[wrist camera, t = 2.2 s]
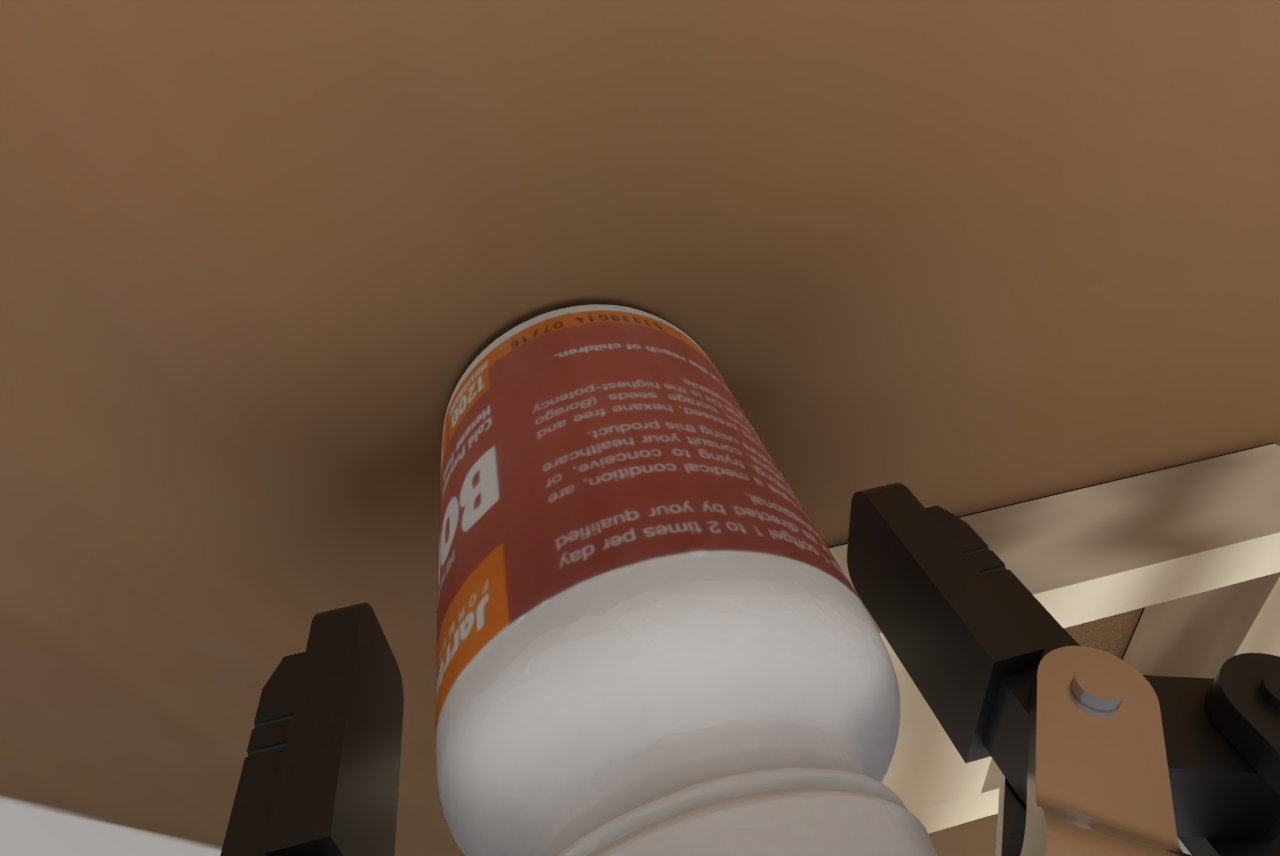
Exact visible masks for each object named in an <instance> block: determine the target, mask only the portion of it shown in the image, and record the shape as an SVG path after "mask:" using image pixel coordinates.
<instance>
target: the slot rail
mask: <svg viewBox="0 0 1280 856" xmlns="http://www.w3.org/2000/svg"><path fill="white" fill-rule="evenodd" d="M960 519H962V520H963V521H965V522H967V523H968V524H969V525H970V526H971V527H972V529H973V530H974V531H975V532H976V533H977V534H978V535H979V536H980V537H981V538H982V540H983V541H984V542H985V543H986V544H987V545H988V549H989V550H990V551H991V550H992V551H993V552H994V553H995V554H996V555H997V556H998V557H999V558H1000V559H1001V560H1002V562H1003V563H1004V564H1005V567H1006V569H1007V570H1009V569H1010V570H1011V571H1012V572H1013V574H1014V575H1015V576H1016V577H1017V578H1018V579H1019V580H1020V581H1021V582H1022V583H1023V585H1024V586H1025V587H1026V588H1027V589H1028V590H1029V591H1030V592H1031V593H1032V594H1033V596H1034V597H1035V598H1036V599H1037V600H1038V601H1039V602H1040V603H1041V604H1042V605H1043V606H1044V608H1045V609H1046V610H1047V611H1048V612H1049V613H1050V614H1051V615H1052V616H1053V617H1054V619H1055V620H1056V621H1057V622H1058V623H1059V624H1060V625H1061V626H1062V627H1063V628H1067V627H1070V626H1074V625H1078V624H1082V623H1086V622H1090V621H1094V620H1097V619H1101V618H1105V617H1109V616H1113V615H1117V614H1121V613H1124V612H1128V611H1132V610H1136V609H1140V608H1144V607H1145V609H1144V612H1143V614H1142V616H1141V618H1140V621H1139V623H1138V625H1137V628H1136V630H1135V632H1134V635H1133V637H1132V639H1131V642H1130V644H1129V646H1128V648H1127V651H1126V653H1125V655H1124V658H1123V660H1124V661H1125V662H1127V663H1128V664H1130V665H1131V666H1133V667H1134V668H1135V669H1136V670H1137V671H1139V672H1140V673H1141V674H1142V675H1151V676H1169V677H1192V678H1214V679H1215V677H1216V675H1217V674H1218V672H1219V670H1220V668H1221V667H1222V665H1223V664H1224V663H1225V662H1226V660H1228V659H1229V658H1231V657H1233V656H1236V655H1239V654H1244V653H1264V654H1271V655H1275V656H1279V657H1280V446H1278V445H1276V444H1271V445H1266V446H1262V447H1258V448H1254V449H1249V450H1245V451H1241V452H1237V453H1232V454H1228V455H1224V456H1220V457H1215V458H1211V459H1207V460H1203V461H1198V462H1194V463H1190V464H1186V465H1181V466H1177V467H1173V468H1169V469H1164V470H1160V471H1156V472H1152V473H1147V474H1143V475H1139V476H1135V477H1130V478H1126V479H1122V480H1118V481H1113V482H1109V483H1105V484H1101V485H1096V486H1092V487H1088V488H1084V489H1079V490H1075V491H1071V492H1067V493H1062V494H1058V495H1054V496H1050V497H1045V498H1041V499H1037V500H1033V501H1028V502H1024V503H1020V504H1015V505H1011V506H1007V507H1003V508H998V509H994V510H990V511H986V512H981V513H977V514H973V515H969V516H964V517H960ZM847 548H848V544H845V545H841V546H837V547H833V548H828V549H829V550H830V552H831V553H832V555H833V557H834V558H835V560H836V561H837V563H838V565H839V566H840V568H841V569H842V571H843V573H844V574H845V576H846V577H847V579H848V580H849V582H850V583H851V585H852V587H853V588H854V586H853V584H852V581H851V578H850V575H849V571H848V566H847ZM854 590H855V589H854ZM855 592H856V591H855ZM856 593H857V592H856ZM857 595H858V594H857ZM859 598H860V597H859ZM860 600H861V599H860ZM861 601H862V600H861ZM862 603H863V602H862ZM863 605H864V604H863ZM864 606H865V605H864ZM865 608H866V607H865ZM866 610H867V608H866ZM867 612H868V614H869V616H870V618H871V620H872V622H873V623H874V625H875V627H876V629H877V630H878V632H879V634H880V636H881V638H882V640H883V642H884V644H885V646H886V648H887V650H888V653H889V655H890V658H891V660H892V663H893V666H894V669H895V673H896V676H897V681H898V686H899V692H900V725H899V734H898V739H897V743H896V747H895V751H894V754H893V758H892V761H891V763H890V766H889V768H888V771H887V773H886V775H885V777H884V779H883V781H882V784H884V785H885V786H887V787H888V788H890V789H891V790H892V791H893V792H894V793H895V794H896V795H897V796H898V797H899V798H900V799H901V801H902V802H903V804H904V805H905V807H906V809H907V811H909V812H911V813H912V814H914V815H915V816H916V817H917V818H918V819H919V820H920V822H921V823H922V824H923V825H924V827H925V828H926V830H927V832H928V833H932V832H935V831H939V830H942V829H945V828H949V827H952V826H956V825H959V824H963V823H966V822H970V821H973V820H976V819H980V818H983V817H987V816H990V815H994V814H997V813H998V803H999V785H1000V779H1001V775H1002V772H1001V770H1000V769H999V767H998V766H997V764H996V763H995V761H994V760H993V758H992V757H991V756H990V757H987V758H983V759H980V760H976V761H973V762H969V763H965V762H964V760H963V759H962V757H961V755H960V754H959V752H958V751H957V749H956V748H955V746H954V745H953V743H952V741H951V740H950V738H949V737H948V735H947V734H946V732H945V730H944V729H943V727H942V726H941V724H940V723H939V721H938V719H937V718H936V716H935V715H934V713H933V712H932V710H931V709H930V707H929V705H928V704H927V702H926V701H925V699H924V698H923V696H922V694H921V693H920V691H919V690H918V688H917V687H916V685H915V683H914V682H913V680H912V679H911V677H910V676H909V674H908V672H907V671H906V669H905V668H904V666H903V665H902V663H901V662H900V660H899V658H898V657H897V655H896V654H895V652H894V651H893V649H892V647H891V646H890V644H889V643H888V641H887V640H886V638H885V636H884V635H883V633H882V632H881V630H880V629H879V627H878V626H877V624H876V622H875V621H874V619H873V618H872V616H871V615H870V613H869V611H868V610H867Z"/></svg>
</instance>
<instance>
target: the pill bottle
mask: <svg viewBox="0 0 1280 856" xmlns="http://www.w3.org/2000/svg"><path fill="white" fill-rule="evenodd" d="M440 491H441V509H440V540H439V593H438V611H437V613H438V622H437V683H436V738H435V748H436V758H437V784H438V790H439V797H440V803H441V806H442V810H443V813H444V816H445V819H446V822H447V824H448V827H449V829H450V831H451V833H452V835H453V837H454V840H455V842H456V844H457V845H458V847H459V848H460V850H461V851H462V852H463V854H464V855H465V856H937V854H936V852H935V849H934V847H933V845H932V842H931V840H930V837H929V835H928V832H927V830H926V828H925V827H924V825H923V824H922V823H921V822H920V820H919V819H918V818H917V817H916V816H915V815H914V814H912V813H911V812H909V811H907V809H906V807H905V805H904V804H903V802H902V801H901V799H900V798H899V797H898V796H897V795H896V794H895V793H894V792H893V791H892V790H891V789H890V788H888V787H887V786H885V785H884V784H882V781H883V779H884V777H885V775H886V773H887V771H888V768H889V766H890V763H891V761H892V758H893V754H894V751H895V747H896V743H897V739H898V734H899V725H900V692H899V686H898V681H897V676H896V673H895V669H894V666H893V663H892V660H891V658H890V655H889V653H888V650H887V648H886V646H885V644H884V642H883V640H882V638H881V636H880V634H879V632H878V630H877V629H876V627H875V625H874V623H873V622H872V620H871V618H870V616H869V614H868V612H867V610H866V608H865V606H864V605H863V603H862V601H861V600H860V598H859V596H858V595H857V593H856V592H855V590H854V588H853V587H852V585H851V583H850V582H849V580H848V579H847V577H846V576H845V574H844V573H843V571H842V569H841V568H840V566H839V565H838V563H837V561H836V560H835V558H834V557H833V555H832V553H831V552H830V550H829V549H828V547H827V545H826V544H825V542H824V540H823V539H822V537H821V536H820V534H819V532H818V531H817V529H816V528H815V526H814V524H813V523H812V521H811V520H810V518H809V517H808V515H807V513H806V512H805V510H804V509H803V507H802V505H801V504H800V502H799V501H798V499H797V498H796V496H795V495H794V493H793V491H792V490H791V488H790V487H789V485H788V483H787V482H786V480H785V479H784V477H783V475H782V474H781V472H780V471H779V469H778V467H777V466H776V464H775V462H774V461H773V459H772V457H771V456H770V454H769V453H768V451H767V449H766V448H765V446H764V445H763V443H762V441H761V440H760V438H759V437H758V435H757V433H756V432H755V430H754V429H753V427H752V425H751V424H750V422H749V421H748V419H747V417H746V416H745V414H744V412H743V411H742V409H741V407H740V406H739V404H738V403H737V401H736V399H735V398H734V396H733V394H732V393H731V391H730V389H729V388H728V386H727V384H726V383H725V381H724V379H723V378H722V376H721V375H720V373H719V371H718V370H717V368H716V367H715V365H714V364H713V363H712V362H711V360H710V359H709V358H708V356H707V355H706V354H705V352H704V351H703V350H702V349H701V348H700V347H699V346H698V345H697V344H696V343H695V341H694V340H692V339H691V338H690V337H689V336H688V335H687V334H685V333H684V332H683V331H681V330H680V329H678V328H677V327H676V326H674V325H672V324H670V323H669V322H667V321H665V320H663V319H661V318H659V317H657V316H654V315H652V314H649V313H647V312H644V311H641V310H637V309H634V308H630V307H624V306H617V305H601V304H594V305H581V306H573V307H567V308H563V309H558V310H554V311H550V312H548V313H545V314H542V315H539V316H537V317H534V318H532V319H530V320H528V321H526V322H523V323H521V324H519V325H517V326H516V327H514V328H512V329H511V330H509V331H508V332H506V333H504V334H503V335H502V336H500V337H499V338H497V339H496V340H495V341H493V342H492V343H491V344H490V345H489V346H488V347H487V348H485V349H484V350H483V351H482V352H481V353H480V354H479V355H478V356H477V357H476V358H475V360H474V361H473V362H472V363H471V365H470V366H469V367H468V368H467V370H466V371H465V373H464V374H463V375H462V377H461V379H460V381H459V382H458V384H457V386H456V388H455V390H454V392H453V394H452V396H451V399H450V402H449V404H448V407H447V412H446V416H445V421H444V427H443V437H442V450H441V488H440Z"/></svg>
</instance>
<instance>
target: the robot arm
mask: <svg viewBox="0 0 1280 856" xmlns="http://www.w3.org/2000/svg"><path fill="white" fill-rule="evenodd" d="M847 566H848V571H849V575H850V578H851V581H852V584H853V586H854V589H855V591H856V592H857V594H858V596H859V597H860V599H861V600H862V602H863V604H864V605H865V607H866V608H867V610H868V611H869V613H870V615H871V616H872V618H873V619H874V621H875V622H876V624H877V626H878V627H879V629H880V630H881V632H882V633H883V635H884V636H885V638H886V640H887V641H888V643H889V644H890V646H891V647H892V649H893V651H894V652H895V654H896V655H897V657H898V658H899V660H900V662H901V663H902V665H903V666H904V668H905V669H906V671H907V672H908V674H909V676H910V677H911V679H912V680H913V682H914V683H915V685H916V687H917V688H918V690H919V691H920V693H921V694H922V696H923V698H924V699H925V701H926V702H927V704H928V705H929V707H930V709H931V710H932V712H933V713H934V715H935V716H936V718H937V719H938V721H939V723H940V724H941V726H942V727H943V729H944V730H945V732H946V734H947V735H948V737H949V738H950V740H951V741H952V743H953V745H954V746H955V748H956V749H957V751H958V752H959V754H960V755H961V757H962V759H963V760H964V762H965V763H969V762H973V761H976V760H980V759H983V758H987V757H990V756H991V757H992V758H993V760H994V761H995V763H996V764H997V766H998V767H999V769H1000V770H1001V772H1002V775H1001V779H1000V785H999V803H998V821H997V839H996V856H1191V855H1188V854H1185V853H1183V852H1182V851H1181V849H1180V846H1179V842H1178V838H1179V839H1180V840H1181V841H1182V843H1183V844H1184V845H1185V847H1186V848H1187V849H1188V850H1189V852H1190V853H1191V854H1192V856H1280V657H1279V656H1275V655H1271V654H1264V653H1244V654H1239V655H1236V656H1233V657H1231V658H1229V659H1228V660H1226V662H1225V663H1224V664H1223V665H1222V667H1221V668H1220V670H1219V672H1218V674H1217V675H1216V677H1215V679H1214V678H1192V677H1169V676H1151V675H1142V674H1141V673H1140V672H1139V671H1137V670H1136V669H1135V668H1134V667H1133V666H1131V665H1130V664H1128V663H1127V662H1125V661H1124V660H1122V659H1120V658H1118V657H1116V656H1115V655H1112V654H1110V653H1107V652H1105V651H1102V650H1099V649H1095V648H1090V647H1085V646H1080V645H1079V644H1078V643H1077V642H1076V641H1075V640H1074V639H1073V638H1072V637H1071V636H1070V635H1069V634H1068V633H1067V632H1066V631H1065V630H1064V628H1063V627H1062V626H1061V625H1060V624H1059V623H1058V622H1057V621H1056V620H1055V619H1054V617H1053V616H1052V615H1051V614H1050V613H1049V612H1048V611H1047V610H1046V609H1045V608H1044V606H1043V605H1042V604H1041V603H1040V602H1039V601H1038V600H1037V599H1036V598H1035V597H1034V596H1033V594H1032V593H1031V592H1030V591H1029V590H1028V589H1027V588H1026V587H1025V586H1024V585H1023V583H1022V582H1021V581H1020V580H1019V579H1018V578H1017V577H1016V576H1015V575H1014V574H1013V572H1012V571H1011V570H1010V569H1009V570H1007V569H1006V567H1005V564H1004V563H1003V562H1002V560H1001V559H1000V558H999V557H998V556H997V555H996V554H995V553H994V552H993V551H992V550H991V551H990V550H989V549H988V545H987V544H986V543H985V542H984V541H983V540H982V538H981V537H980V536H979V535H978V534H977V533H976V532H975V531H974V530H973V529H972V527H971V526H970V525H969V524H968V523H967V522H965V521H963V520H962V519H960V518H958V517H956V516H955V515H953V514H951V513H950V512H948V511H946V510H944V509H943V508H941V507H939V506H933V507H929V508H924V507H923V506H922V504H921V503H920V502H919V501H918V500H917V499H916V497H915V496H914V495H913V494H912V493H911V492H910V490H909V489H908V488H907V487H906V486H904V485H903V484H901V483H894V484H890V485H885V486H881V487H876V488H872V489H868V490H863V491H859V492H856V493H855V494H854V495H853V498H852V503H851V515H850V526H849V537H848V548H847ZM403 703H404V699H403V686H402V679H401V674H400V671H399V667H398V664H397V662H396V659H395V657H394V655H393V653H392V651H391V648H390V646H389V644H388V642H387V640H386V637H385V635H384V633H383V631H382V629H381V626H380V624H379V622H378V620H377V618H376V615H375V613H374V611H373V609H372V607H371V606H370V605H369V604H368V603H361V604H357V605H353V606H348V607H344V608H339V609H335V610H331V611H326V612H322V613H318V614H316V615H315V616H314V618H313V620H312V624H311V629H310V634H309V638H308V643H307V648H306V652H303V653H299V654H294V655H290V656H286V657H284V658H283V660H282V661H281V663H280V664H279V666H278V667H277V668H276V670H275V671H274V673H273V674H272V676H271V677H270V679H269V680H268V682H267V683H266V685H265V686H264V688H263V689H262V693H261V697H260V701H259V705H258V709H257V713H256V717H255V721H254V724H255V729H253V730H252V733H251V737H250V741H249V745H248V749H247V752H248V757H247V758H245V761H244V765H243V769H242V772H241V776H240V780H239V784H238V788H237V792H236V796H235V800H234V804H233V808H232V812H231V816H230V820H229V824H228V828H227V832H226V836H225V840H224V844H223V848H222V852H221V856H394V854H395V837H396V821H397V804H398V787H399V771H400V754H401V738H402V721H403ZM1177 836H1178V837H1177Z"/></svg>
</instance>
